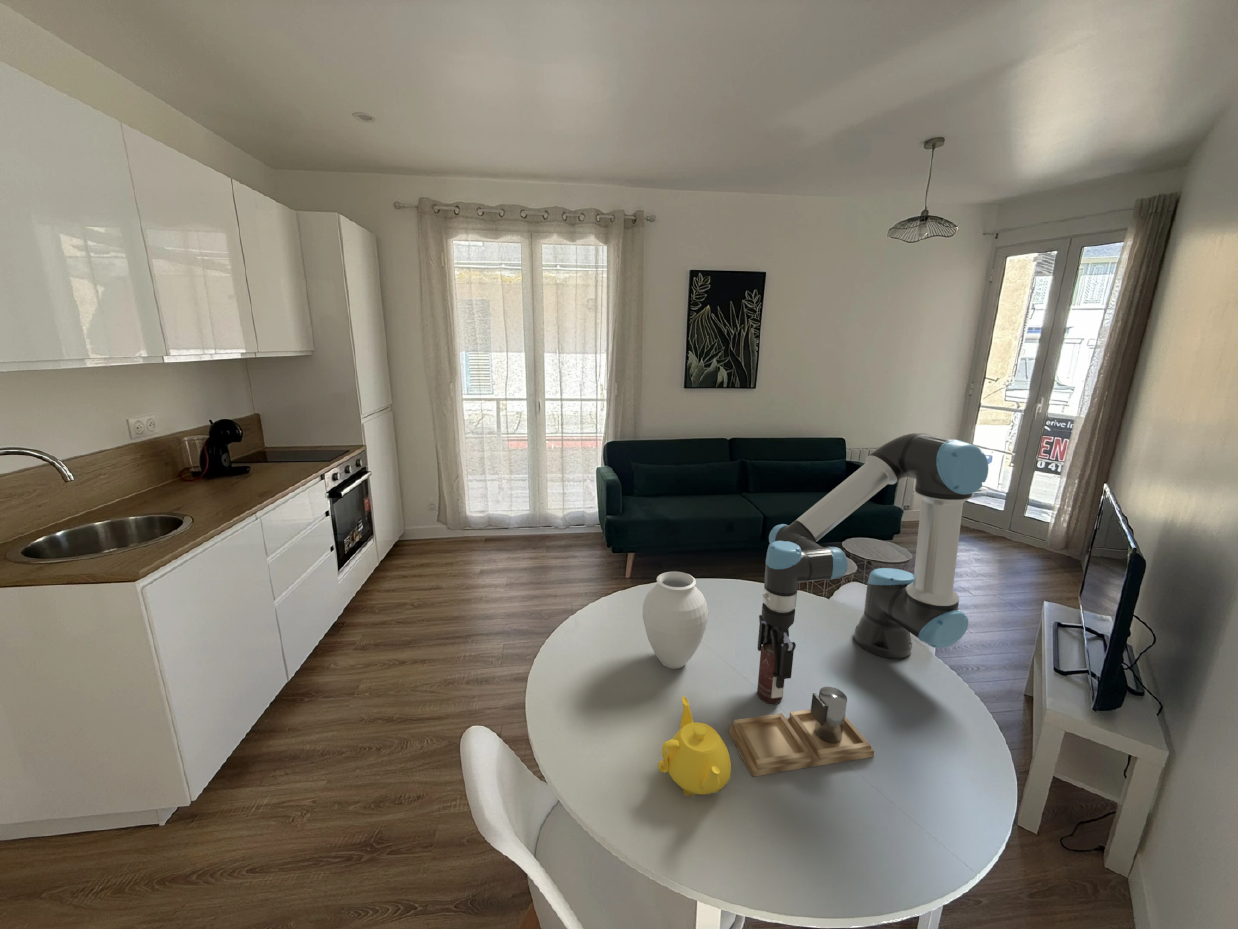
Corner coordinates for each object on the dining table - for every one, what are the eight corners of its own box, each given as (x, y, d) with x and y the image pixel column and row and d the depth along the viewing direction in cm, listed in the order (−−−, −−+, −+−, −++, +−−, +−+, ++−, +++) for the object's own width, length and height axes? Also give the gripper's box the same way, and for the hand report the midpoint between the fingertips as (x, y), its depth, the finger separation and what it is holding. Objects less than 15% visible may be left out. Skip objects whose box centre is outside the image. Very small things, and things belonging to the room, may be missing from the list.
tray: (838, 715, 114) (840, 705, 113) (873, 756, 103) (875, 745, 102) (728, 731, 109) (729, 720, 108) (752, 776, 98) (753, 764, 97)
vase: (632, 671, 129) (633, 587, 123) (652, 636, 145) (655, 560, 139) (697, 689, 123) (701, 601, 117) (711, 650, 139) (715, 571, 133)
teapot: (646, 743, 106) (647, 699, 103) (709, 734, 108) (712, 691, 106) (672, 831, 86) (674, 779, 84) (748, 817, 89) (753, 767, 86)
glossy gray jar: (831, 722, 110) (836, 685, 108) (847, 742, 105) (852, 703, 102) (806, 726, 109) (810, 688, 106) (820, 746, 103) (825, 706, 101)
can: (784, 706, 117) (790, 656, 114) (758, 703, 118) (762, 653, 115) (781, 690, 123) (786, 641, 119) (756, 686, 124) (760, 638, 121)
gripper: (747, 588, 122) (741, 667, 128) (783, 627, 105) (774, 717, 111) (774, 586, 124) (767, 664, 129) (814, 624, 106) (804, 713, 112)
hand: (770, 688), depth 120 cm, fingers open, 5 cm apart
